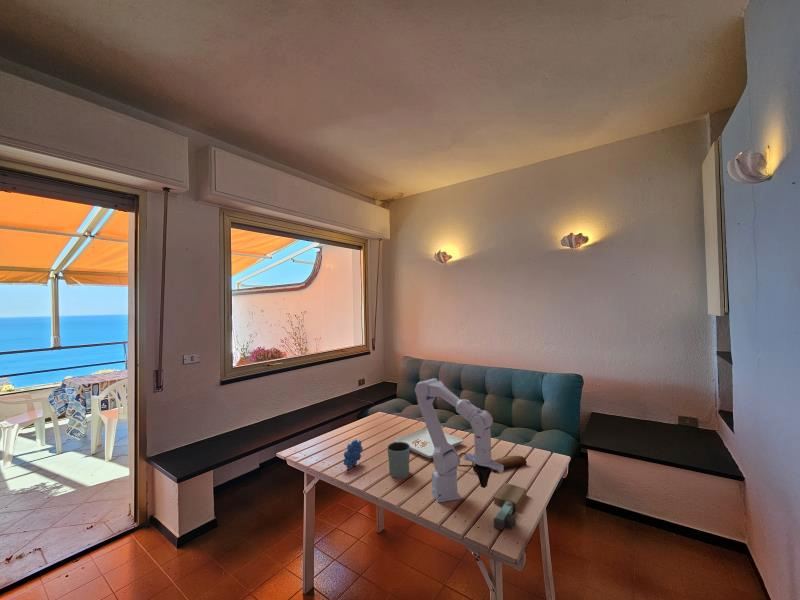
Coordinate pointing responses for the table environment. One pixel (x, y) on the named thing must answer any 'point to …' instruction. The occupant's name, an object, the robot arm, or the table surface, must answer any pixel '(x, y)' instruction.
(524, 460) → the sunglasses case
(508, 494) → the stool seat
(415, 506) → the table surface
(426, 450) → the square plate
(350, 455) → the grapes
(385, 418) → the table surface
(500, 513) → the stool leg
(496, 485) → the table surface
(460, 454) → the glasses
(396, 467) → the green cup
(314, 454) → the table surface
